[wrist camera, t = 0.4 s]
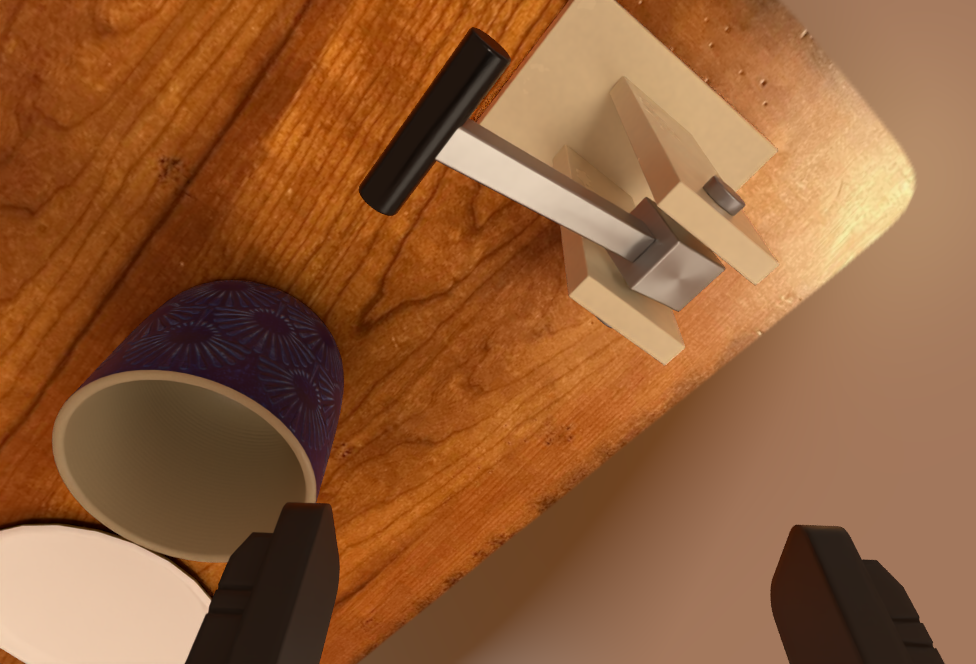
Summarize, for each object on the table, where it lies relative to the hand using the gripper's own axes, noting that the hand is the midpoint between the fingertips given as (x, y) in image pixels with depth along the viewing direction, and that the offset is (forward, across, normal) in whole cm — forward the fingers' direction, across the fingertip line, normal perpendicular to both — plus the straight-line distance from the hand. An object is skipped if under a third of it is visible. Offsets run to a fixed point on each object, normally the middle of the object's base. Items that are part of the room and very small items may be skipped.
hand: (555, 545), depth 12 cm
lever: (+12, -1, -2) cm, 13 cm away
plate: (+26, +33, +40) cm, 58 cm away
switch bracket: (+26, -4, +1) cm, 27 cm away
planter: (+26, +16, +14) cm, 34 cm away
